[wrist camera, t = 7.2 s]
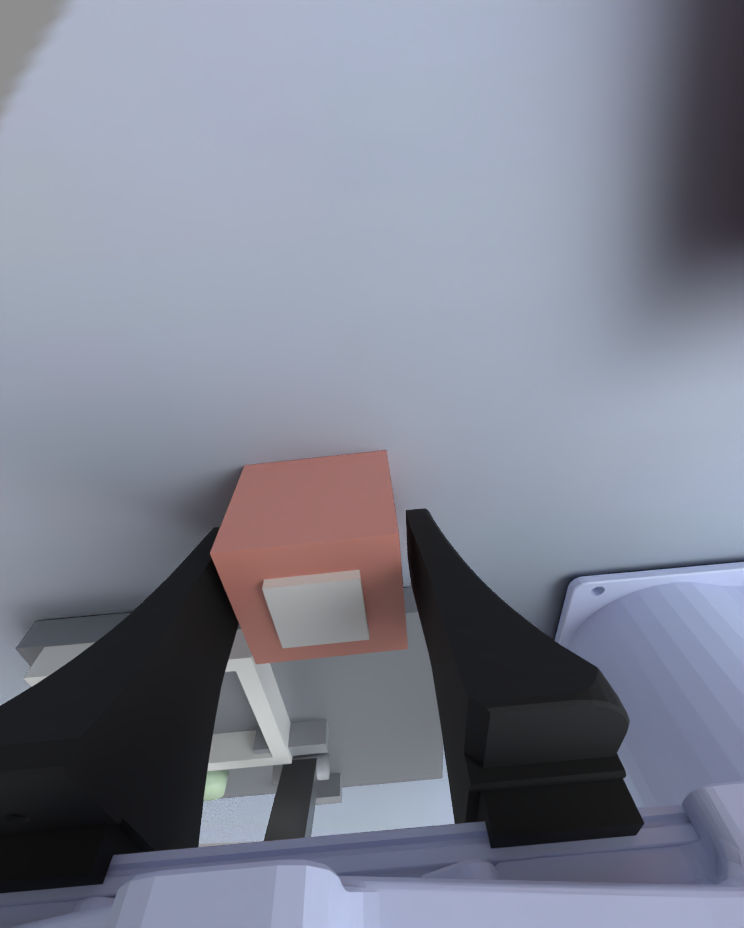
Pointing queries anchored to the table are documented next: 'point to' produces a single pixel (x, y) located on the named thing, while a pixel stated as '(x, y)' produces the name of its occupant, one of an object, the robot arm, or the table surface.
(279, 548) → the pink cube
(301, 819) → the lever
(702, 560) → the table surface
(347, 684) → the panel
